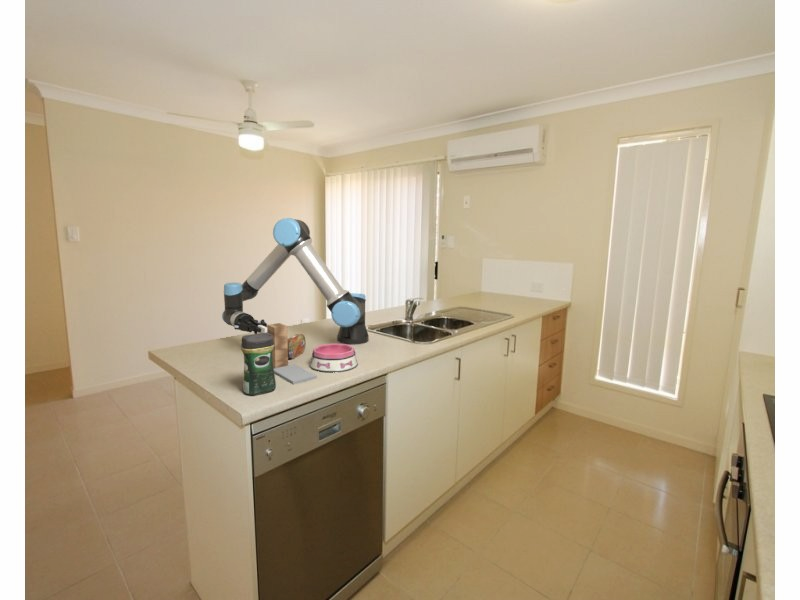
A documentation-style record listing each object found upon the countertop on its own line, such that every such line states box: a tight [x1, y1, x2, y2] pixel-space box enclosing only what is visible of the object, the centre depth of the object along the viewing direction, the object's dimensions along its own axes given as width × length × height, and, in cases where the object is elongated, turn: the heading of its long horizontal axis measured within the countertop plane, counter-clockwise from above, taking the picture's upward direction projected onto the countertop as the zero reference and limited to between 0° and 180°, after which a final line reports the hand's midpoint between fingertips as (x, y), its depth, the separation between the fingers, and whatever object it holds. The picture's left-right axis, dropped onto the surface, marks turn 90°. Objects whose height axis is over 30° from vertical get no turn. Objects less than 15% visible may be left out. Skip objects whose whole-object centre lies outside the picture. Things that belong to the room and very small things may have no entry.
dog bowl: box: [308, 343, 359, 374], centre depth 148 cm, size 18×19×7 cm
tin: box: [287, 333, 306, 360], centre depth 158 cm, size 15×3×8 cm, turn 168°
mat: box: [274, 363, 318, 385], centre depth 136 cm, size 9×16×1 cm, turn 44°
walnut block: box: [267, 322, 289, 369], centre depth 143 cm, size 5×6×16 cm
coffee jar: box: [240, 332, 277, 396], centre depth 120 cm, size 10×8×19 cm
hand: (266, 331), depth 149 cm, fingers closed
